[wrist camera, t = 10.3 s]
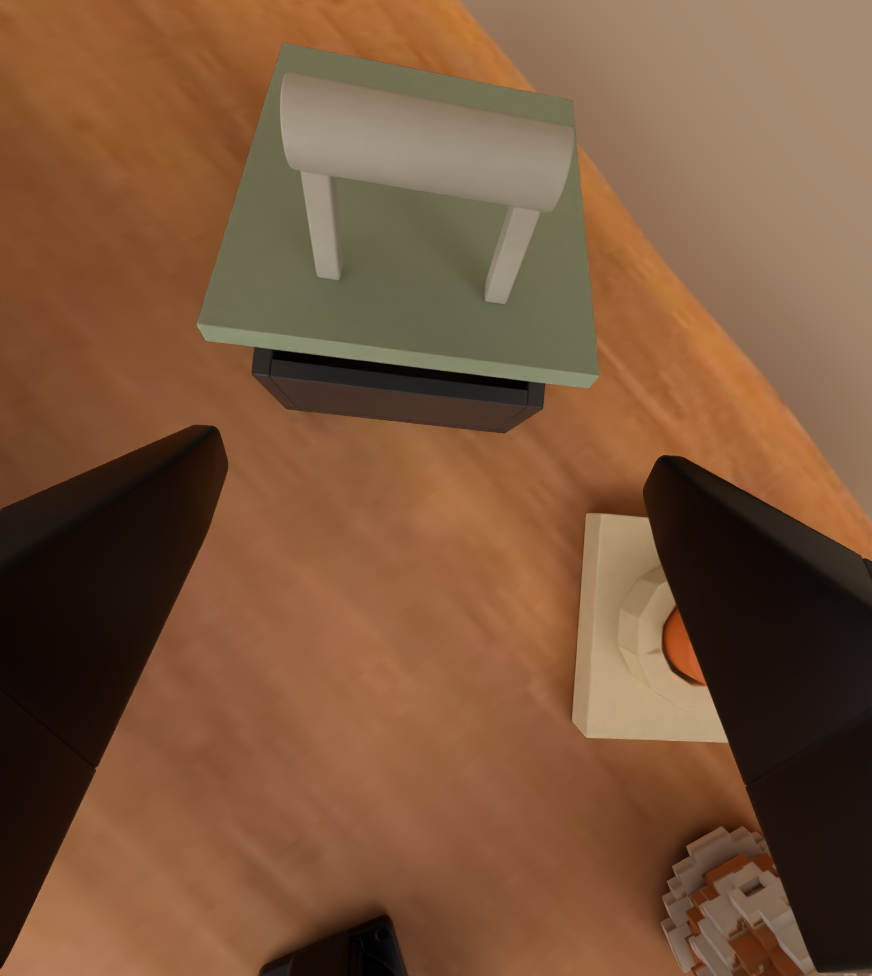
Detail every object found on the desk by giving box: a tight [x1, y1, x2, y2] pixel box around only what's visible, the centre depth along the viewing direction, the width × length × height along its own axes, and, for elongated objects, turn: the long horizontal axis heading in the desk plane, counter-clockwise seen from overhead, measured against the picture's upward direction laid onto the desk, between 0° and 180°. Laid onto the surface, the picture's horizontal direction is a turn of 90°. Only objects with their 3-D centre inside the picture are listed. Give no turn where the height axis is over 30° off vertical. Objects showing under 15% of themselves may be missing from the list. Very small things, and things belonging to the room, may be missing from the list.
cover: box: [197, 43, 599, 389], centre depth 13 cm, size 13×11×5 cm
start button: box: [663, 608, 707, 686], centre depth 20 cm, size 4×4×2 cm
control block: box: [572, 513, 728, 742], centre depth 22 cm, size 11×9×4 cm
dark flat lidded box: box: [252, 347, 545, 433], centre depth 20 cm, size 12×11×6 cm
